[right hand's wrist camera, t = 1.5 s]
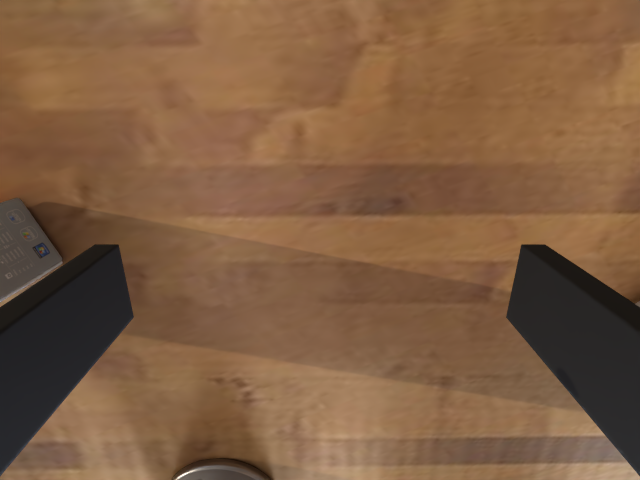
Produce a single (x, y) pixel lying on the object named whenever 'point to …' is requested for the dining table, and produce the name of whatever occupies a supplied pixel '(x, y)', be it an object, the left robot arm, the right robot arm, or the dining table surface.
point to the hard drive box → (22, 249)
